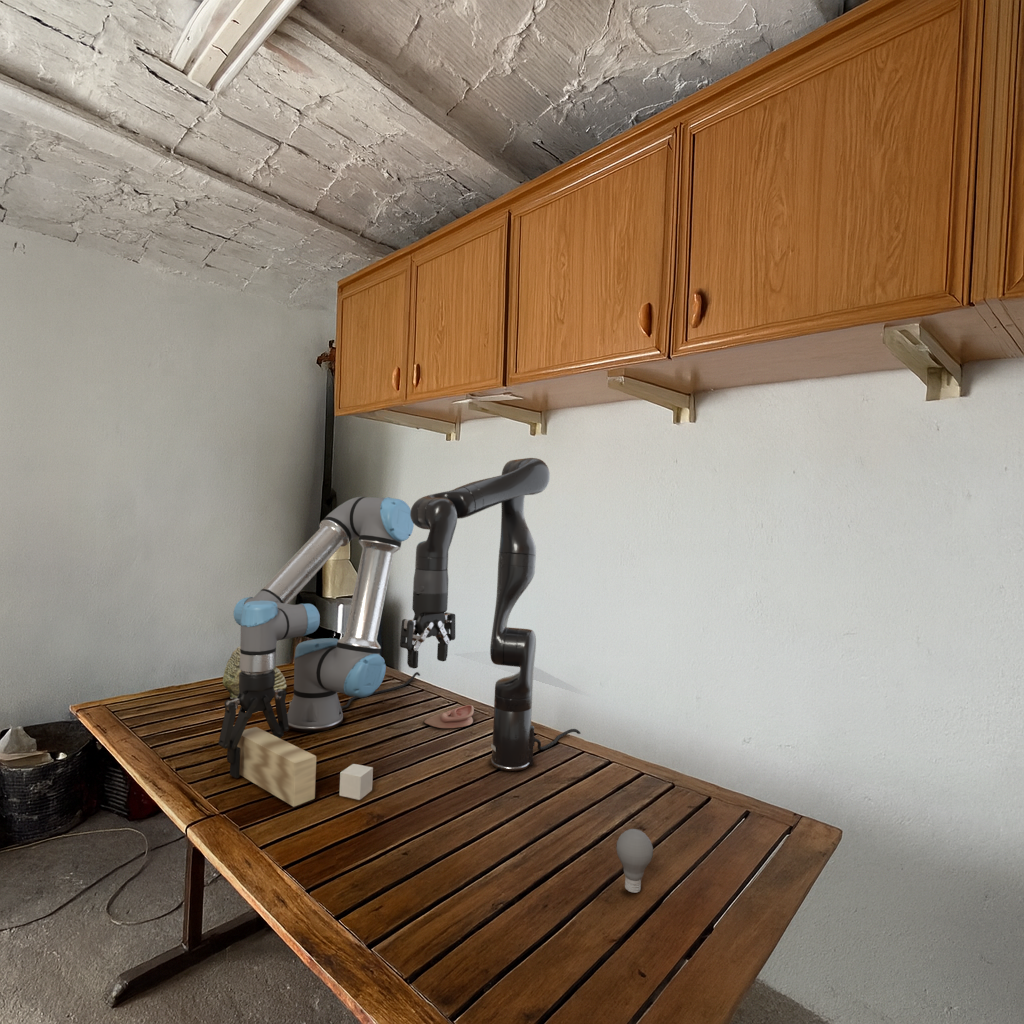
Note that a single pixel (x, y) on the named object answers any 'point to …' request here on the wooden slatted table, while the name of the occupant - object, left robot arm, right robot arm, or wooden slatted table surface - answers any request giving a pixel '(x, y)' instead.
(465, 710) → the anatomical model
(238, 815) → the wooden slatted table surface
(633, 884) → the light bulb
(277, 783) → the ash bar
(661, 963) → the wooden slatted table surface
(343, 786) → the white cube
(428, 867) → the wooden slatted table surface
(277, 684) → the fossil
